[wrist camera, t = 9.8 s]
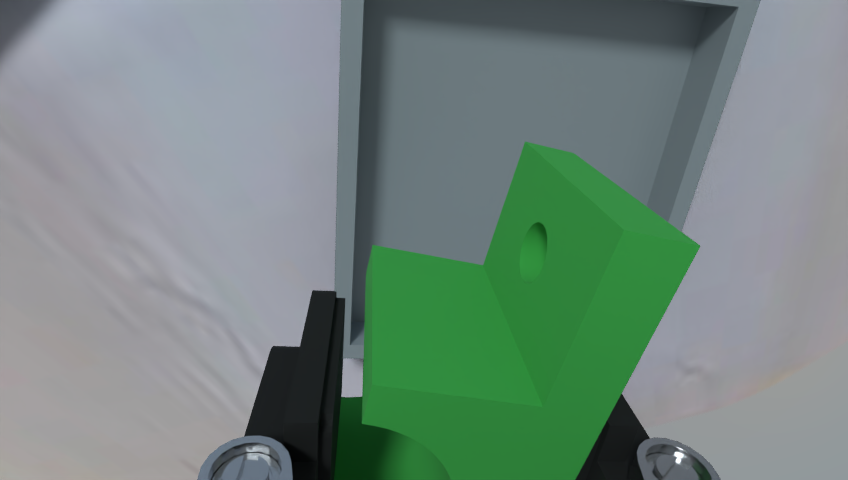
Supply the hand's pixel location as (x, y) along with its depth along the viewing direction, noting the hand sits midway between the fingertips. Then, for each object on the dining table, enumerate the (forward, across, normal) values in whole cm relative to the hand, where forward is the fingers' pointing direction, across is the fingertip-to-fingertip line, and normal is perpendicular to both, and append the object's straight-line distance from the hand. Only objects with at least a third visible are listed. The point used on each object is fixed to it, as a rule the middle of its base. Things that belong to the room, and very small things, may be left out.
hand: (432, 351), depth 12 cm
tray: (+13, -5, 0) cm, 14 cm away
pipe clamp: (+1, 0, 0) cm, 1 cm away
